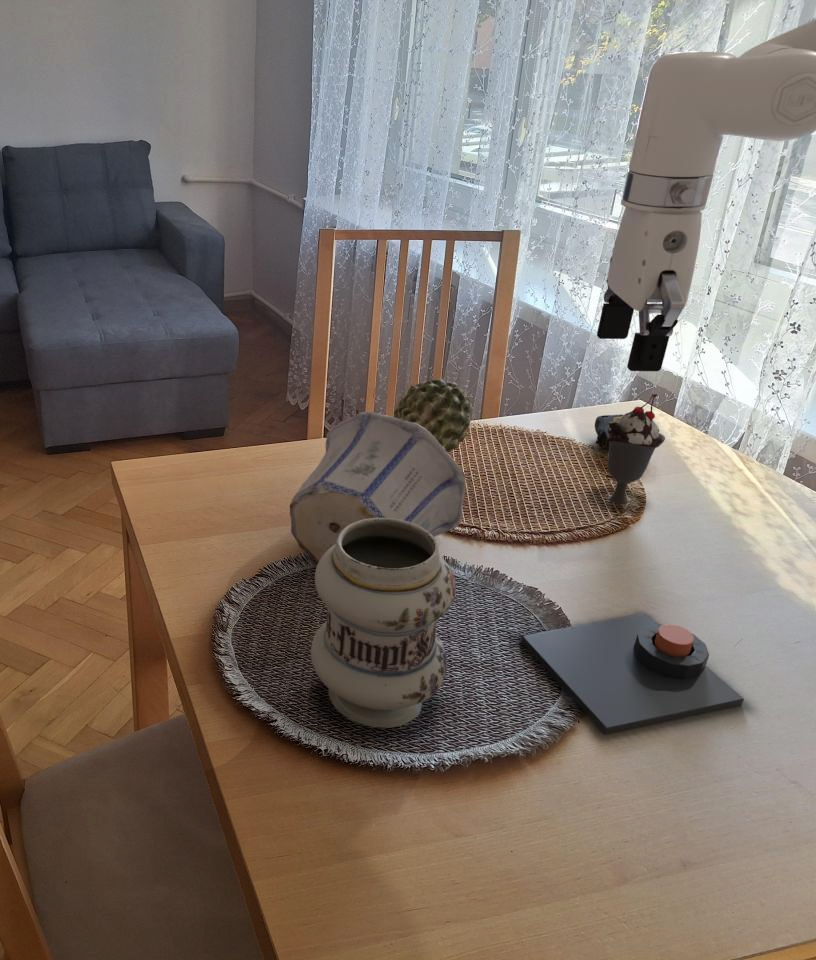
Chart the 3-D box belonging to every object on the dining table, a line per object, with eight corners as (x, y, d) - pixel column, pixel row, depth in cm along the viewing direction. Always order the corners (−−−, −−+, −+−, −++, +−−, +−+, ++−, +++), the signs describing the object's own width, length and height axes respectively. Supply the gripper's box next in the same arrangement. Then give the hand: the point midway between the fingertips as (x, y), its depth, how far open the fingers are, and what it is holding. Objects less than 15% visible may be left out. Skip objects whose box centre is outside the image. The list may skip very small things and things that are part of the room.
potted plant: (415, 508, 83) (524, 347, 100) (259, 466, 93) (381, 327, 110) (422, 627, 94) (520, 464, 110) (282, 578, 104) (390, 436, 121)
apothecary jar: (325, 648, 87) (335, 495, 79) (447, 676, 83) (472, 518, 74) (293, 730, 78) (300, 567, 69) (429, 766, 74) (455, 597, 65)
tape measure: (591, 432, 128) (596, 409, 126) (643, 438, 125) (648, 415, 124) (593, 452, 122) (598, 429, 120) (647, 459, 120) (653, 435, 118)
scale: (645, 623, 89) (652, 599, 87) (743, 711, 78) (754, 684, 76) (519, 647, 86) (524, 622, 85) (602, 741, 75) (610, 714, 74)
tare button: (674, 634, 83) (678, 621, 82) (697, 654, 80) (701, 641, 80) (647, 639, 83) (650, 627, 82) (669, 659, 80) (673, 647, 79)
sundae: (648, 499, 111) (676, 391, 103) (642, 523, 106) (672, 412, 98) (592, 487, 114) (616, 382, 106) (585, 511, 109) (609, 402, 101)
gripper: (747, 208, 77) (696, 384, 86) (670, 174, 92) (634, 327, 101) (659, 209, 78) (617, 383, 86) (597, 175, 93) (567, 327, 101)
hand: (626, 353), depth 94 cm, fingers open, 9 cm apart
